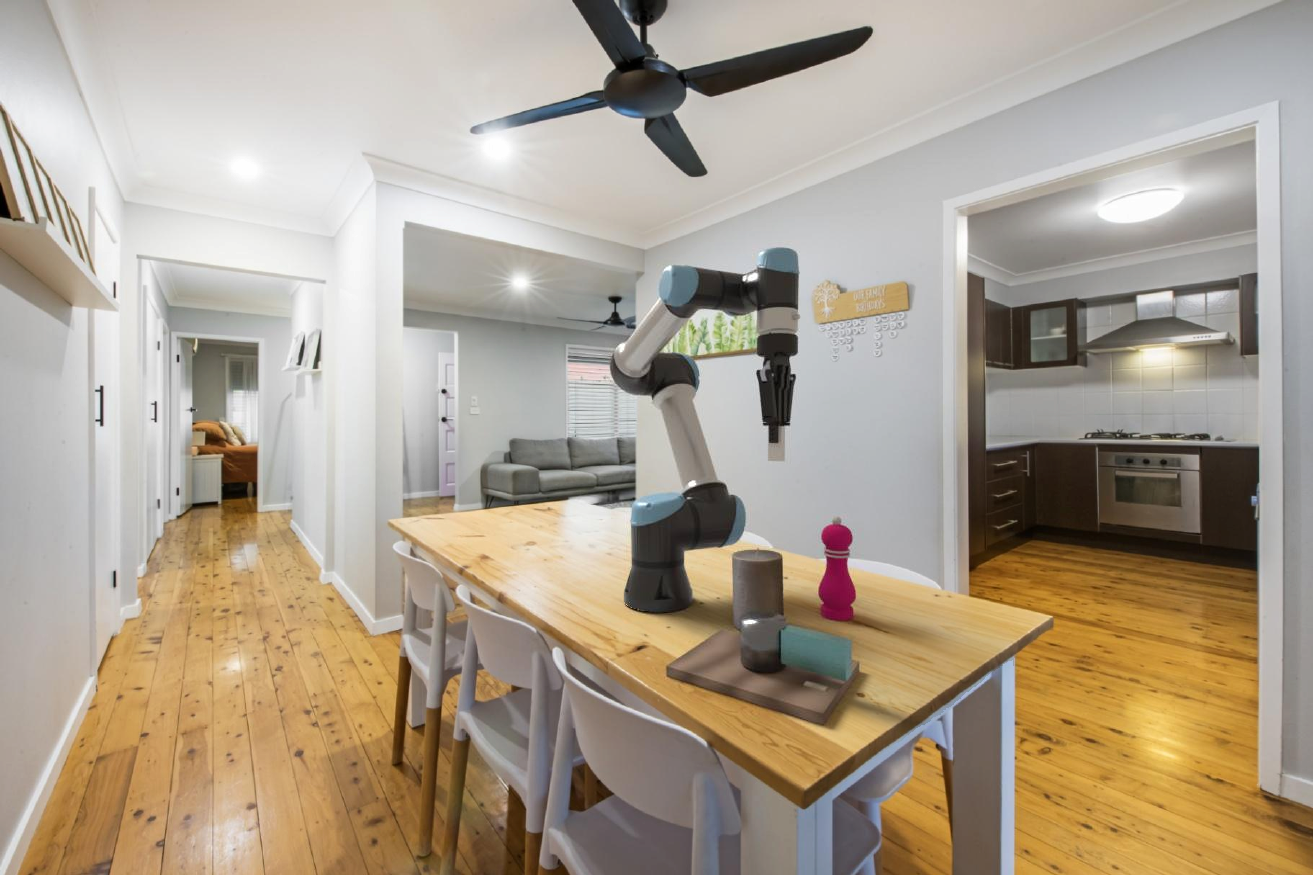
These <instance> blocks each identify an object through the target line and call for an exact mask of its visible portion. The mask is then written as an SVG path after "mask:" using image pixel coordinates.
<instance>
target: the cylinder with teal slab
mask: <svg viewBox="0 0 1313 875" xmlns="http://www.w3.org/2000/svg"><path fill="white" fill-rule="evenodd" d="M787 623H788V622H787V618H786V616H782V615H780V614H777V613H774V612H768V611H751V612H746V613H744V614H742V615H741V616H740V630H739V633H740V661H741V664H742V665H743V666H745V667H746V668H748V669H751V670H754V671H758V672H777V671H780V670H783V669H784V668H785V667H786V665H789V666H793V667H796V668H800V669H803V670H807V671H810V672H814V673H817V674H821V675H824V676H828V677H831V678H835V679H838V680H842V681H845V682H846V681H847V680H848V679H849V677H850V676H851V675H852V660H853V659H852V658H853V656H852V655H853V654H852V652H853V650H852V649H853V648H852V644H853V642H852V639H850V638H847V637H842V636H838V635H834V634H830V633H826V632H820V631H817V630H814V629H813V630H812V629H809V628H804V627H801V626H800V627H799V626H796V625H791V624H787Z"/></svg>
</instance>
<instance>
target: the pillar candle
mask: <svg viewBox="0 0 1313 875" xmlns="http://www.w3.org/2000/svg"><path fill="white" fill-rule="evenodd" d="M783 558H784V557H783V554H781V553H780V552H778V551H775V550H769V549H760V548H759V547H757V548H756V549H754V548H753V549H743V550H738V551H734V552H733V553H732V554H731V562H732V565H731V566H732V573H731V574H732V609H733V612H732V613H733V625H734V627H735V628H736V629H737V630H738V631H740V616H741V615H742V614H744V613H746V612H751V611H768V612H774V613H777V614H780V615H782V616H784V614H785V612H784V611H785V609H784V568H783V567H784V566H783V565H784V564H783V562H784V560H783ZM784 617H785V616H784Z"/></svg>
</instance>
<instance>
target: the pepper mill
mask: <svg viewBox="0 0 1313 875" xmlns="http://www.w3.org/2000/svg"><path fill="white" fill-rule="evenodd" d="M831 521H832V524H828V525H826V526H825V527H824V528H823V529H822V530H821V531H822V532H821V537H820V540H821V541H822V544H823V545H824V546H825V547H824V548H823V554H824V556H825V562H826V564H825V571H824V575H823V576H822V579H821V580H820V583H819V586H818V590H817V591H818V597H819V599H820V600H821V602H822V603H821V604H820V614H821V616H822V617H824V618H826V619H829V620H832V621H839V620H840V622H841V621H842V622H843V621H844V620H845V621H849V620H852V619H853V618H854V613H855V612H854V611H855V610H854V607H853V606H852V604H853V603H855V601H856V599H857V593H856V587H855V585H854V582H853V580H852V578H851V575H850V572H849V566H848V562H849V561H848V559H849V558H850V556H851V553H850V552H851V549H849V547H850V546H851V545H852V543H853V540H854V539H853V537H854V536H853V532H852V531H851V529H850V528H849V527H847V526H846V525H843V524H842V519H841V517H840V516H833V517H832V519H831Z"/></svg>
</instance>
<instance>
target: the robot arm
mask: <svg viewBox="0 0 1313 875" xmlns="http://www.w3.org/2000/svg"><path fill="white" fill-rule="evenodd" d="M799 275H800V268H799V256H798V253H797V251H796V250H794V249H792V248H789V247H784V246H783V247H782V246H780V247H770V248H766V249H764V250H762V251H760V252H759V253H758V256H757V261H756V268H755V269H753V270H752V271H750V272H747V273H736V272H732V271H731V272H730V271H723V270H716V269H709V268H703V267H697V266H692V265H686V264H685V265H680V264H679V265H678V264H671V265H668V266H667V267H665V268H664V270H663V272H662V273H661V278H660V279H659V284H658V294H659V298H658V300H657V301H656V302H655V303H654V305H653V306H652V307H651V309H650V310H649V312H648V313H647V314H646V315H645V317H644V318H643V319H642V321H641V322H640V323H639V325H638V326H637V327H636V329H634V332H633V333H632V334H631V335H630V337H629V338H628V339H627V340H626V341H623V342H621V343H619V345H617V347H616V348H615V350H614V351H613V352H612V355H611V357H610V360H609V373H610V376H611V378H612V380H613V382H614V383H615V385H616V386H617V387H618V388H620V390H622V391H623V392H625V393H627V394H630V395H633V396H634V395H635V396H643V397H644V396H650V398H651V400H652V401H651V402H652V403H653V406H654V407H655V408H657V409H658V410H661V414H662V418H663V421H664V426H665V429H666V433H667V436H668V440H669V444H670V446H671V451H672V454H673V457H674V461H675V464H676V465H675V466H676V469H677V472H678V475H679V478H680V482H681V486H682V491H681V492H673V491H672V492H660V493H654V494H653V493H652V494H649V495H644V496H642V497H639V498H638V499H636V500H635V501H634V502H633V503H632V505H631V513H630V514H631V515H630V519H629V520H630V521H629V523H630V534H631V535H630V540H631V541H630V543H631V545H630V546H631V549H630V550H631V566H630V570H629V574H628V577H627V581H626V583H625V588H624V590H623V603H624V602H625V604H627V605H628V606H629V607H632V608H635V609H639V610H643V611H642V612H644V611H649V612H648V613H670V612H676V610H677V611H680V609H681V610H684V609H686V608H688V607H690V606H691V605H692V604H693V596H694V595H693V593H694V592H693V589H692V587H691V583H690V579H689V577H688V572H687V570H686V567H685V552H687V551H697V550H706V549H714V548H718V549H721V548H723V547H727V546H732V545H735V544H737V543H738V542H739V541H740V539H741V538H742V536H743V534H744V532H745V527H746V523H747V522H746V520H747V518H746V517H747V514H746V507H745V504H744V502H743V500H742V499H741V498H740V497H739V496H737V495H735V494H730V492H729V489H728V486H727V483H725V482H724V481H722V480H719V479H718V476H717V473H716V469H715V466H714V463H713V460H712V458H711V455H710V452H709V449H708V448H709V447H708V444H707V442H706V438H705V434H704V432H703V429H702V426H701V423H700V420H699V416H698V413H697V410H696V407H695V404H694V399H695V398H696V395H697V392H698V390H699V386H700V382H701V380H700V378H699V377H700V375H701V374H700V369H699V366H698V364H697V363H696V362H697V361H695V359H694V358H693V357H692V356H691V355H689V354H685V353H679V352H677V351H675V352H662V350H663V349H665V347H666V346H667V345H668V344H669V343H670V342H671V340H672V339H673V338H674V337H675V336H676V335H677V334H678V332H679V331H680V330H681V329H682V328H683V327H684V326H685V324H687V322H688V321H689V320H691V318H692V317H693V316H694V315H695V314H696V312H698V310H700V309H701V310H711V311H722V312H723V313H724V314H725V315H727V316H730V317H743V316H746V315H749V314H750V313H753V312H756V333H757V334H758V336H757V337H756V355H757V356H758V357H760V358H763V361H762V367H763V368H762V369H757V370H756V373H755V374H756V378H757V382H758V389H759V400H760V409H761V420H762V426H764V427H767V429H768V430H767V438H768V439H767V441H768V442H767V461H768V462H785V461H786V458H785V457H786V456H785V455H786V454H785V453H786V427H787V426H788V427H790V426H791V418H792V406H793V397H794V389H795V383H796V381H797V376H796V373H792V368H791V361H790V360H791V359H790V358H791V357H795V356H797V355H798V353H799V336H798V335H797V334H796V333H797V332H799V328H798V327H799V319H801V315H800V314H799V286H800V285H799V283H800V282H799V281H800V280H799V279H800V278H799V277H800V276H799ZM625 604H624V605H625ZM628 606H627V607H628ZM629 607H628V608H629ZM632 608H631V609H632ZM635 609H634V610H635ZM639 610H638V611H639Z"/></svg>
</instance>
